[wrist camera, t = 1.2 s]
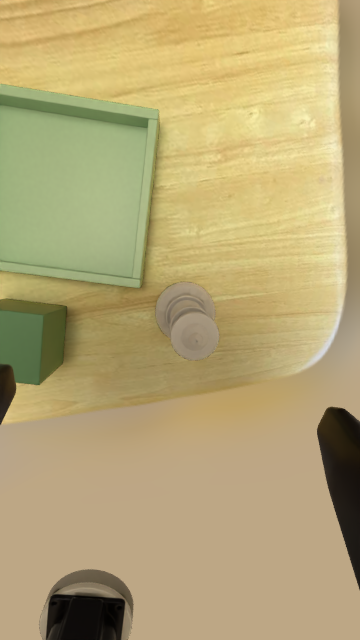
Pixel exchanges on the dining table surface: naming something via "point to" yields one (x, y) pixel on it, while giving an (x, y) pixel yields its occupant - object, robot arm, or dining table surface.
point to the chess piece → (188, 320)
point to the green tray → (75, 186)
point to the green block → (32, 338)
